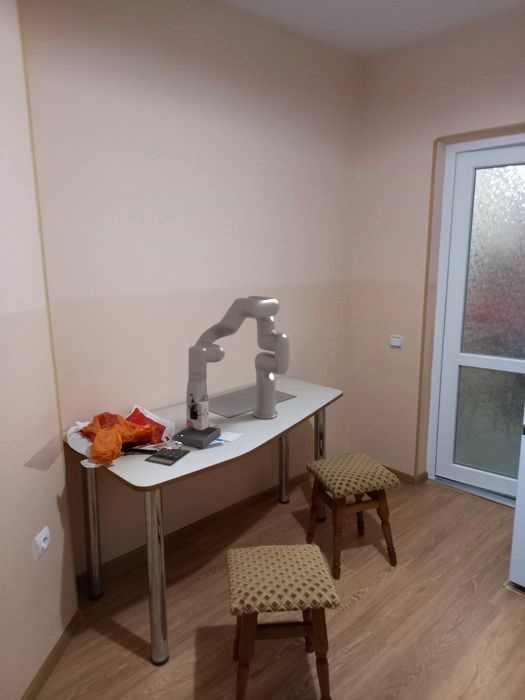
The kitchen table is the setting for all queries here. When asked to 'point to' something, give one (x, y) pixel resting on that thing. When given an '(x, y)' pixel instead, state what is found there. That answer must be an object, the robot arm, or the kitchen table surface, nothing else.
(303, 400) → the kitchen table surface
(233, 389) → the kitchen table surface
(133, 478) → the kitchen table surface
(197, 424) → the ink cartridge box
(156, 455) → the calculator
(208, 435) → the desk tray
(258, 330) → the robot arm
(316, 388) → the kitchen table surface
